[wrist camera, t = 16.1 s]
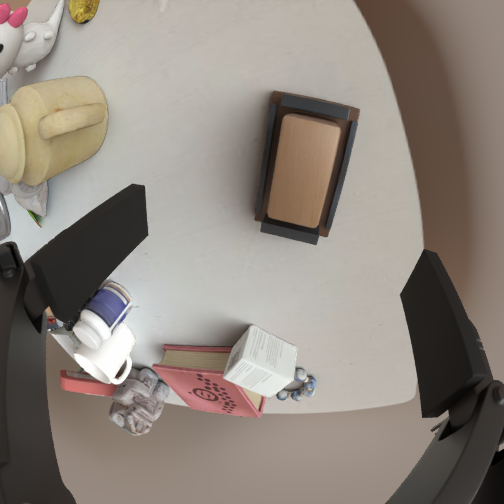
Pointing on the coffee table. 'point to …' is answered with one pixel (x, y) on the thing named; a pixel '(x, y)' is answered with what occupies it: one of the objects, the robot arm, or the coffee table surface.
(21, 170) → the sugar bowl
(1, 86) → the medicine box
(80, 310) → the toy train
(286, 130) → the wooden block
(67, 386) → the plaque
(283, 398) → the bracelet
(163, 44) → the coffee table surface
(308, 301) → the coffee table surface
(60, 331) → the shark figurine
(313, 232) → the pad mount
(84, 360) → the cup
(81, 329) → the pill bottle
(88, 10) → the decorative item
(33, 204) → the pebble
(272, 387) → the product carton
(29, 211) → the decorative leaf
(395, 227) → the coffee table surface
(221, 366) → the book
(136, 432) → the figurine
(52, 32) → the toy
